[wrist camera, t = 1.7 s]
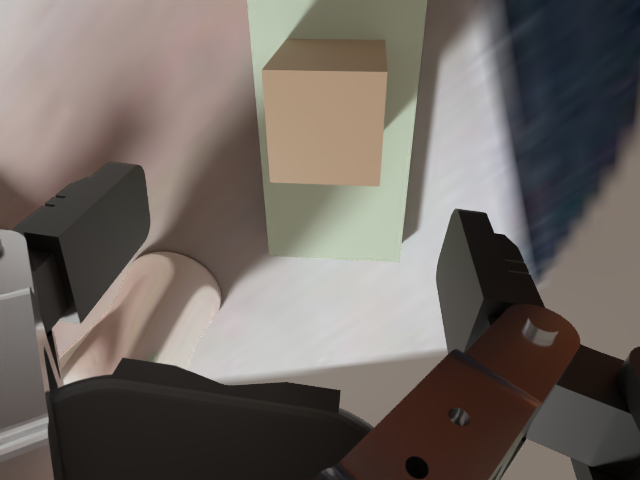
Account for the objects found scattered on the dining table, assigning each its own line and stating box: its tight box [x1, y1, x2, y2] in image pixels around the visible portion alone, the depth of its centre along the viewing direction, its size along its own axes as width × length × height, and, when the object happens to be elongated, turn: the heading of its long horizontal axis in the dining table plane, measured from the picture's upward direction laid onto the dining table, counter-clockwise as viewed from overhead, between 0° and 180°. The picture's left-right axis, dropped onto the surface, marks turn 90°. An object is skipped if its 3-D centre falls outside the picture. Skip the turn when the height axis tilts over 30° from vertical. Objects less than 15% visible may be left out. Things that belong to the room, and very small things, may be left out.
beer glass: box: [59, 251, 221, 385], centre depth 23 cm, size 7×7×15 cm
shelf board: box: [247, 0, 427, 263], centre depth 19 cm, size 18×7×7 cm, turn 0°
